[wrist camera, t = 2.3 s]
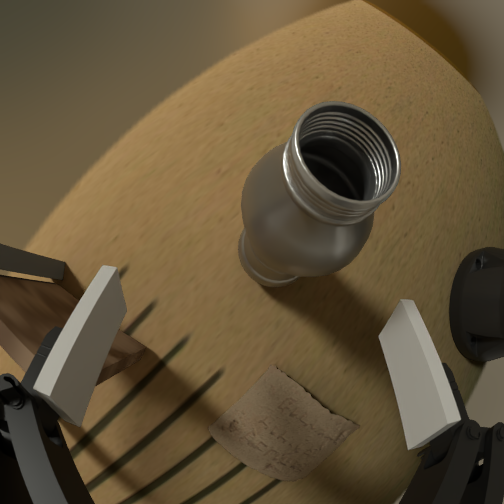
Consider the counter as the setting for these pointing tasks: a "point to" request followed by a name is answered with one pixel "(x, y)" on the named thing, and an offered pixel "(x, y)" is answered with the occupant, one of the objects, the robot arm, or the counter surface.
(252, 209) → the silver metal bottle
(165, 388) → the counter surface
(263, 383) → the clay tablet
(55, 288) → the door
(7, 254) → the door frame
